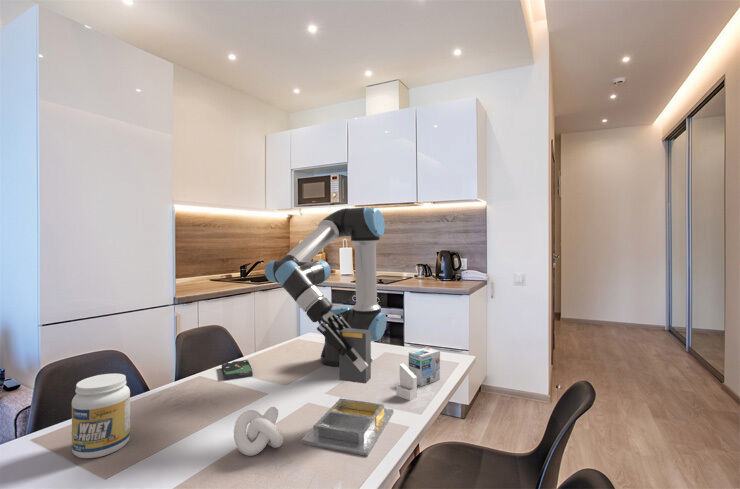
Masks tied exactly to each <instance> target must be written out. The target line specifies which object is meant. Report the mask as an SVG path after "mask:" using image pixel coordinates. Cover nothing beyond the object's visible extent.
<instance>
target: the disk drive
mask: <svg viewBox="0 0 740 489" xmlns="http://www.w3.org/2000/svg"><path fill="white" fill-rule="evenodd" d="M221 371H222V375H223V380H224V381H229V380H237V379H244V378H245V379H246V378H249V377H250V378H251V377H253V374H254V372H253V368H252V366H251V364H250V362H249V360H248V359H245V360H237V361H236V360H235V361H232V362H222V363H221Z"/></svg>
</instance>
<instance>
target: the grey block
mask: <svg viewBox="0 0 740 489" xmlns="http://www.w3.org/2000/svg"><path fill="white" fill-rule="evenodd" d="M339 333H340V334H341V335H342V336H343V337H344V338H345V340H346V341H347V343H348V344H349V346H350V347H351V349H352V348H354V349H355V350H356V352H357V353H358V354H359V355H360V356H361V357H362V358H363V360H364V361H365V362H366V363H367V364H368V366H367V367H366V368H365V369H364V370H363V371H362V372H360V370H359V369H358V368H357V367H356V366H355V365H354V363H353V362H352V361H351V360H350V359H349V358H348V356H347V355H346V354H345V355H344V356H342V355H341V354H339V366H338V367H339V368H338V369H339V370H338V372H339V373H338V374H339V376H338V378H339V379H338V380H339V381H343V382H350V383H358V384H367V383H368V382H369V381H370V380H371V379H372V378H371V377H372V370H371V369H372V367H371V366H372V365H371V364H372V362H371V357H372V355H371V354H372V350H371V349H372V341H371V330H364V329H352V328H344V329H343V330H341V331H339Z"/></svg>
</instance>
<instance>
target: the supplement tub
mask: <svg viewBox="0 0 740 489" xmlns="http://www.w3.org/2000/svg"><path fill="white" fill-rule="evenodd" d="M74 391H75V395H74V397H73V398H72V400H71V450H72V453H73V455H74V456H76V457H77V458H79V459H95V458H100V457H103V456H107V455H110V454H113V453H115V452H117V451H119V450H120V449H122V448H123V447H125V445H126V444H127V443H128V442H129V441H130V439H131V390H130V387H129V386H128V385H127V377H126V374H123V373H116V372H115V373H104V374H103V373H102V374H97V375H94V376H90V377H87V378H83V379H82V380H80V381H78V382H77V383H76V385H75V390H74Z"/></svg>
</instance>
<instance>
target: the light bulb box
mask: <svg viewBox="0 0 740 489" xmlns="http://www.w3.org/2000/svg"><path fill="white" fill-rule="evenodd" d="M408 369H409V370H410V371H411V372H412V373H413V374H414V375H415V376H416V377H417V386H420V387H423V386H426V385H428V384H432V383H434V382H437V381H439V380H440V379H441V350H437V349H434V348H430V347H427V346H426V347H424V348H420V349H417V350H413V351H409V352H408Z"/></svg>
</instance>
